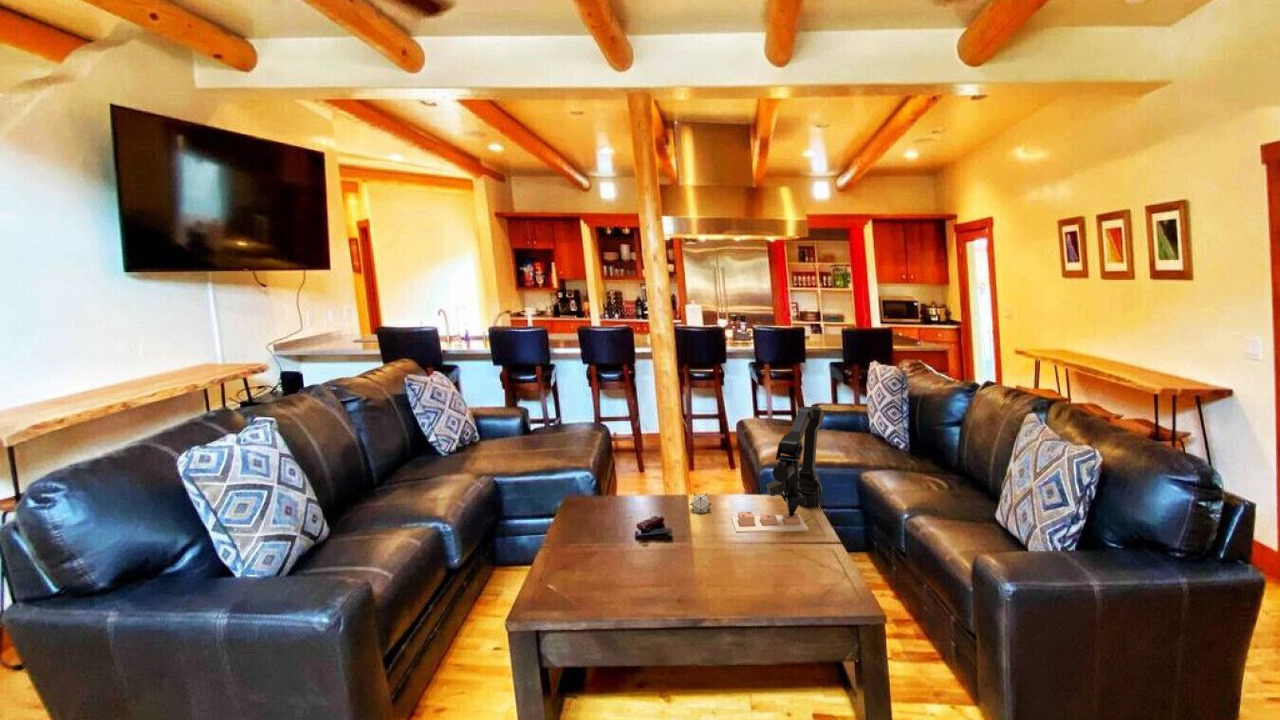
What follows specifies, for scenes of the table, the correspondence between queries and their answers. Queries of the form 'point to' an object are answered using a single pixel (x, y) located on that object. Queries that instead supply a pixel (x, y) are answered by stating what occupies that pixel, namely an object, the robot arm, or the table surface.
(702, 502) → the game die
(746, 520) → the tile two dots
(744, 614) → the table surface
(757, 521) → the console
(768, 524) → the tile one dot
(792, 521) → the tile three dots
